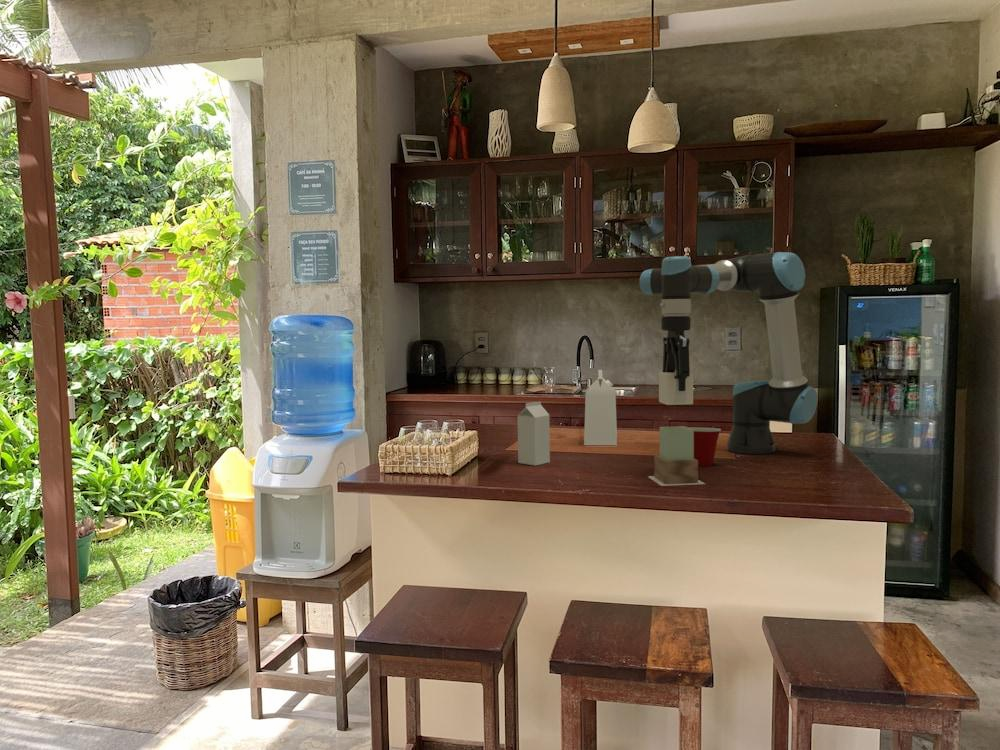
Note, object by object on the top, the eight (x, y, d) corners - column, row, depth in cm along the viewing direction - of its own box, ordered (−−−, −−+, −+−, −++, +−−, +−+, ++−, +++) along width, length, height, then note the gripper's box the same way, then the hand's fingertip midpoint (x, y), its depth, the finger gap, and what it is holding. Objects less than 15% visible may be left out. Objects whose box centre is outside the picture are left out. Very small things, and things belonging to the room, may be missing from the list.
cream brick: (683, 401, 209) (684, 371, 208) (693, 404, 202) (693, 373, 201) (658, 402, 208) (658, 372, 207) (667, 404, 201) (667, 374, 200)
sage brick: (684, 455, 210) (684, 426, 209) (693, 459, 203) (693, 429, 202) (659, 456, 209) (659, 426, 208) (667, 460, 202) (667, 430, 201)
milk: (584, 440, 280) (584, 369, 278) (616, 440, 279) (616, 369, 277) (584, 446, 268) (583, 372, 266) (617, 446, 267) (616, 371, 265)
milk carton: (550, 462, 239) (549, 402, 237) (535, 466, 234) (534, 404, 232) (532, 460, 244) (532, 400, 242) (517, 463, 238) (517, 402, 237)
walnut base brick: (686, 475, 211) (686, 454, 211) (698, 482, 202) (698, 460, 202) (654, 477, 210) (654, 455, 210) (664, 484, 201) (664, 461, 201)
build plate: (689, 478, 213) (689, 474, 213) (705, 487, 201) (705, 483, 201) (647, 479, 212) (647, 476, 212) (661, 489, 200) (661, 485, 200)
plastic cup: (722, 464, 231) (722, 425, 230) (719, 471, 221) (720, 430, 220) (685, 463, 235) (685, 424, 234) (681, 469, 225) (681, 429, 224)
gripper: (650, 315, 212) (650, 398, 214) (674, 315, 193) (674, 406, 194) (676, 315, 213) (676, 397, 215) (703, 315, 194) (703, 405, 195)
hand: (675, 401), depth 205 cm, fingers closed on cream brick, 7 cm apart
